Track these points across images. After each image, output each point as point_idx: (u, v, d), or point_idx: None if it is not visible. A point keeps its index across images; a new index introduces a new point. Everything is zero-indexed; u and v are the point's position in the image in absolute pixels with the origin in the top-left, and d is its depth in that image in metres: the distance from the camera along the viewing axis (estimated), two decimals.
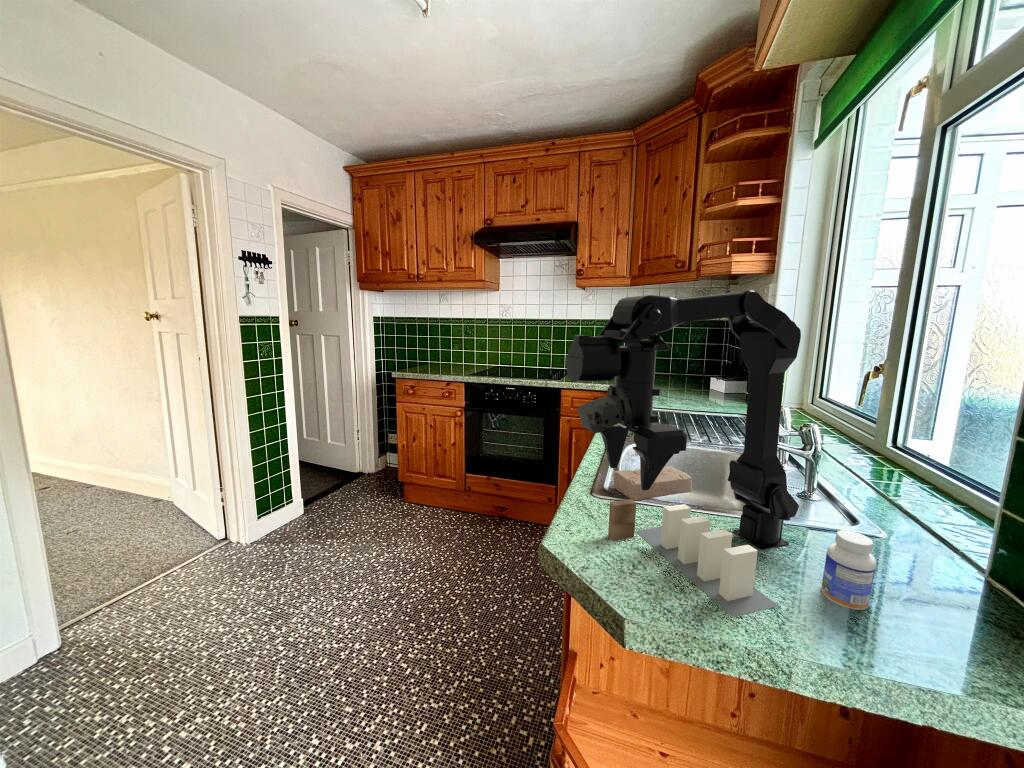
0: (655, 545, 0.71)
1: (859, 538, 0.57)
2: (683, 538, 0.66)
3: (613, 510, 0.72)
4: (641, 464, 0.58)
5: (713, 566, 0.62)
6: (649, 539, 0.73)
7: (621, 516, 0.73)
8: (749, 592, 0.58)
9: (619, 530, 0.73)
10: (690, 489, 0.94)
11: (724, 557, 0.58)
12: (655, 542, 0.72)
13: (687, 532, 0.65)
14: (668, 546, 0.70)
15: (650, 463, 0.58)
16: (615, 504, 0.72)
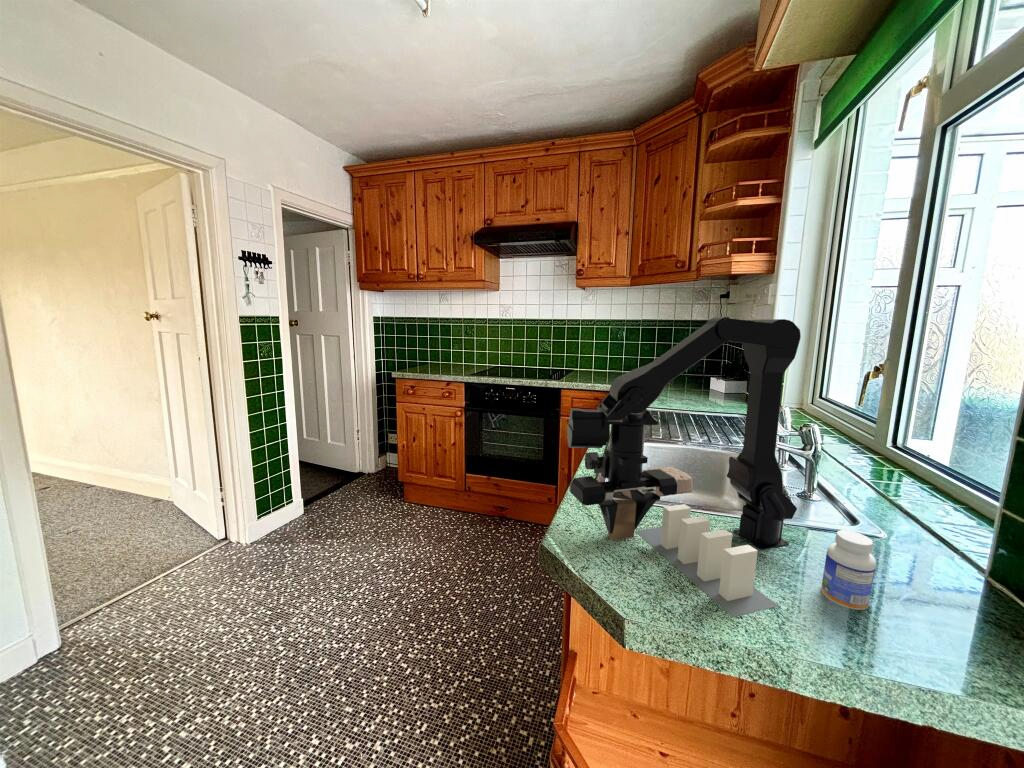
0: (655, 545, 0.71)
1: (859, 538, 0.57)
2: (683, 538, 0.66)
3: None
4: None
5: (713, 566, 0.62)
6: (649, 539, 0.73)
7: (621, 516, 0.73)
8: (749, 592, 0.58)
9: (619, 530, 0.73)
10: (691, 490, 0.94)
11: (724, 557, 0.58)
12: (655, 542, 0.72)
13: (687, 532, 0.65)
14: (668, 546, 0.70)
15: (604, 508, 0.73)
16: None
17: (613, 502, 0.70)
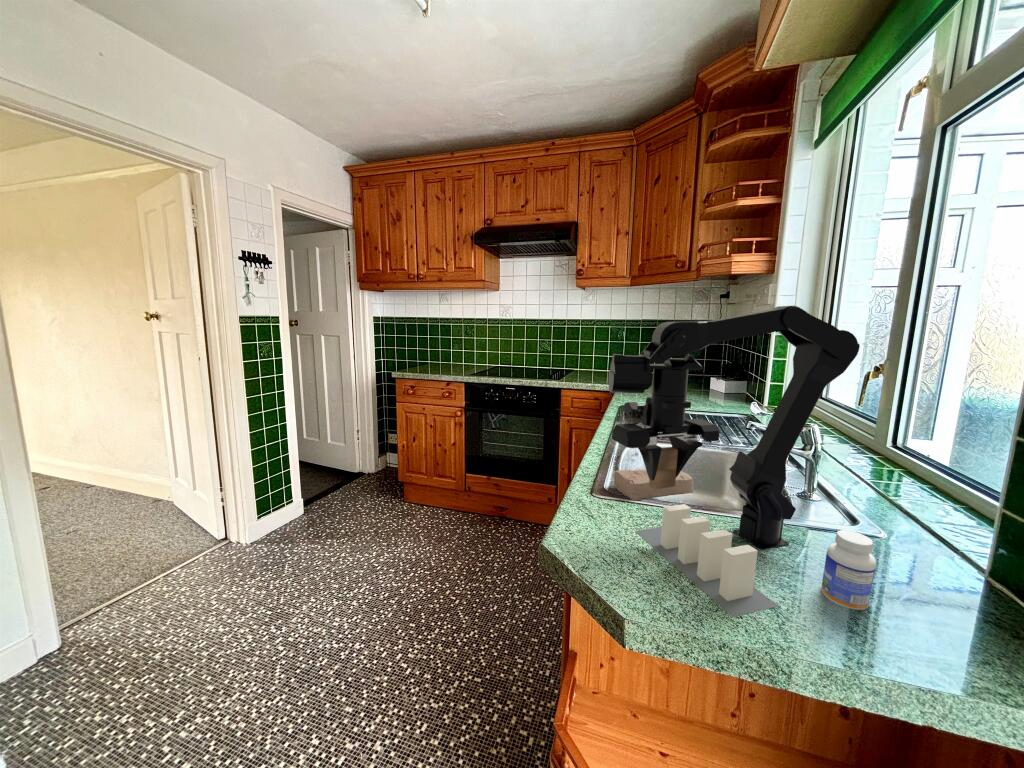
0: (655, 545, 0.71)
1: (859, 538, 0.57)
2: (683, 538, 0.66)
3: None
4: None
5: (713, 566, 0.62)
6: (649, 539, 0.73)
7: (663, 463, 0.73)
8: (749, 592, 0.58)
9: (661, 477, 0.73)
10: (692, 490, 0.93)
11: (724, 557, 0.58)
12: (655, 542, 0.72)
13: (687, 532, 0.65)
14: (668, 546, 0.70)
15: (646, 455, 0.73)
16: None
17: (657, 447, 0.70)
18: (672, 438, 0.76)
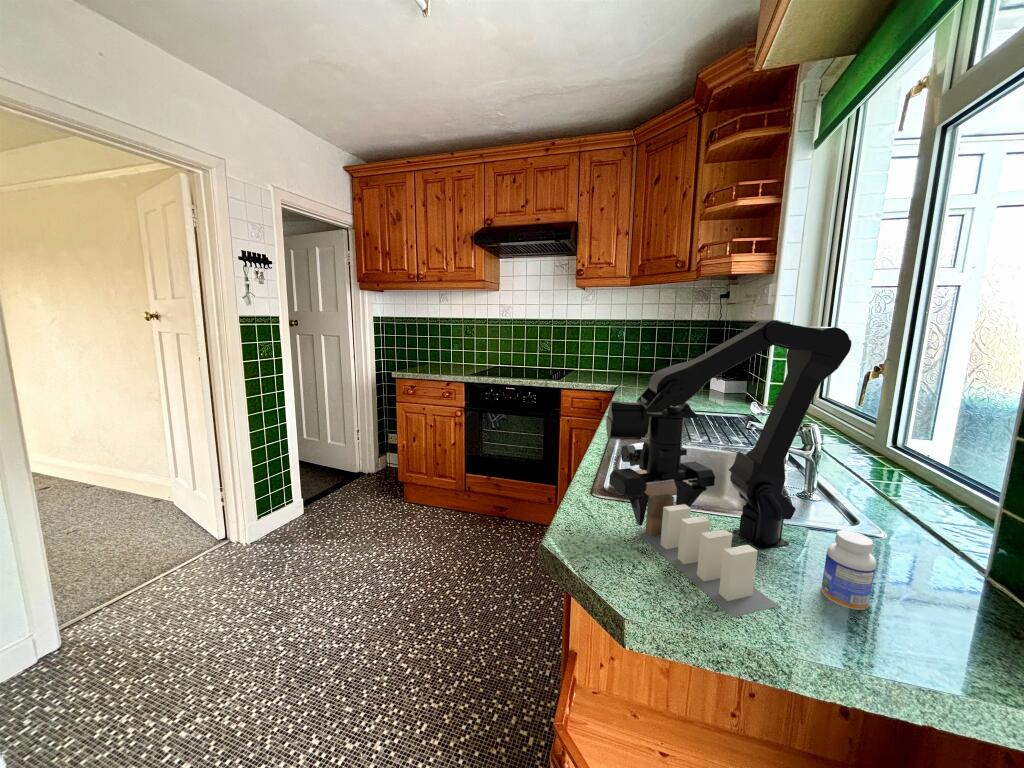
0: (655, 545, 0.71)
1: (859, 538, 0.57)
2: (683, 538, 0.66)
3: (652, 504, 0.74)
4: None
5: (713, 566, 0.62)
6: (649, 539, 0.73)
7: (659, 510, 0.74)
8: (749, 592, 0.58)
9: (657, 524, 0.74)
10: None
11: (724, 557, 0.58)
12: (655, 542, 0.72)
13: (687, 532, 0.65)
14: (668, 546, 0.70)
15: (634, 501, 0.74)
16: (653, 498, 0.74)
17: (644, 494, 0.71)
18: (677, 480, 0.77)
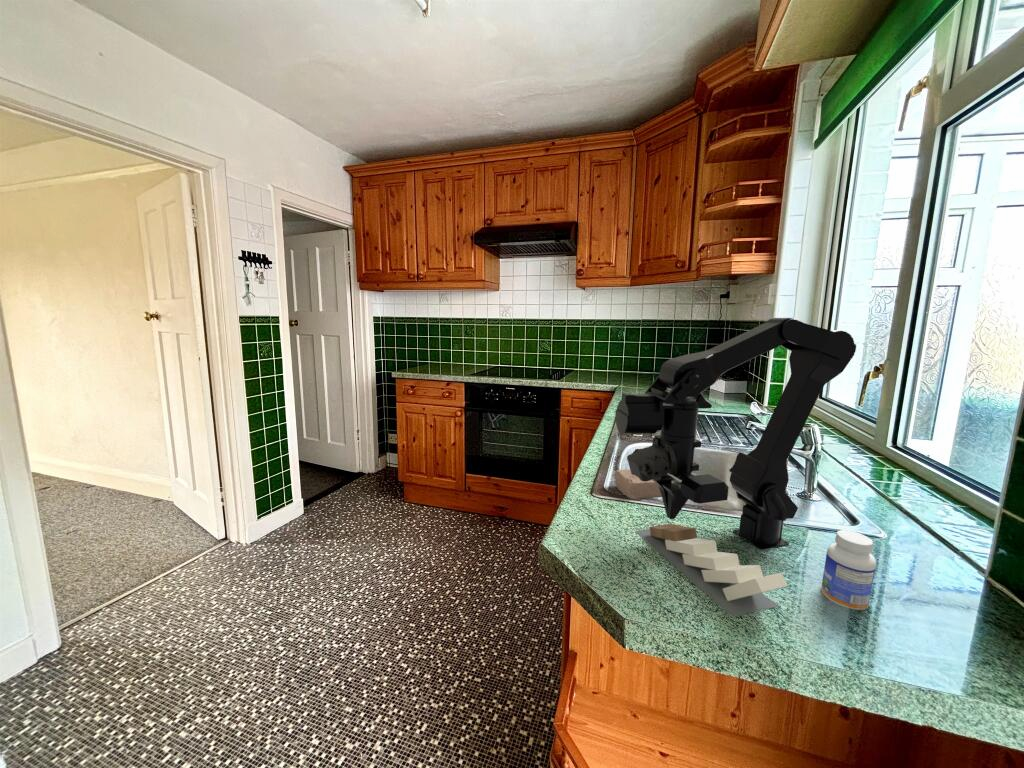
0: (655, 545, 0.71)
1: (859, 538, 0.57)
2: (701, 563, 0.62)
3: (671, 539, 0.69)
4: (669, 498, 0.70)
5: None
6: (649, 539, 0.73)
7: None
8: (751, 595, 0.58)
9: None
10: None
11: (750, 582, 0.54)
12: (655, 542, 0.72)
13: (710, 568, 0.61)
14: None
15: (676, 497, 0.70)
16: (677, 538, 0.68)
17: None
18: (662, 481, 0.71)
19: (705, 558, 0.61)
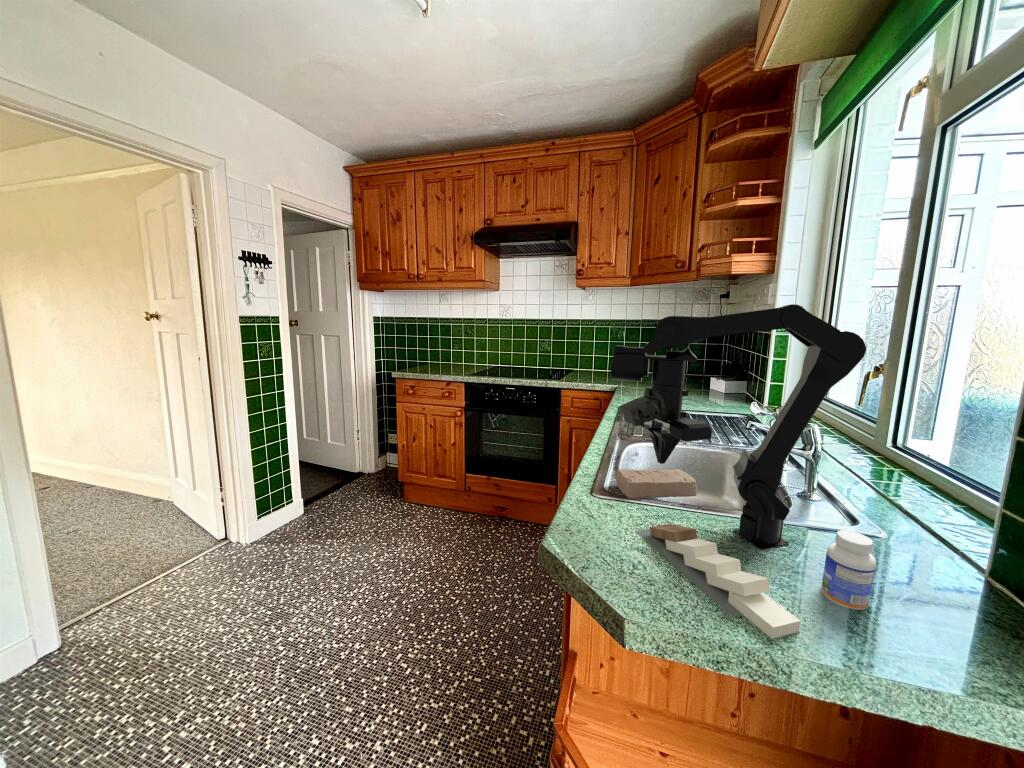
0: (655, 545, 0.71)
1: (859, 538, 0.57)
2: (702, 566, 0.62)
3: (671, 540, 0.69)
4: (659, 443, 0.77)
5: None
6: (649, 539, 0.73)
7: None
8: None
9: None
10: (695, 494, 0.92)
11: (765, 623, 0.51)
12: (655, 542, 0.72)
13: (711, 573, 0.61)
14: None
15: (666, 442, 0.77)
16: (677, 539, 0.68)
17: None
18: (653, 428, 0.78)
19: (707, 562, 0.61)
